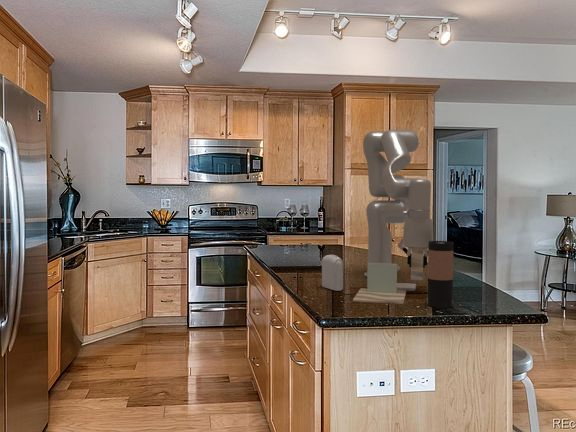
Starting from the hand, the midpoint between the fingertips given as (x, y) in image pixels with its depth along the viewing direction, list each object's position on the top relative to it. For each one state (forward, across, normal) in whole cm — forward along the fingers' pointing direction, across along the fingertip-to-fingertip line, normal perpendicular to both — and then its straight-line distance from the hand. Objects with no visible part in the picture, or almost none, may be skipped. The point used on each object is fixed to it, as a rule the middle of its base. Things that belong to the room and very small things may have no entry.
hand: (417, 266), depth 187 cm
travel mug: (+9, +8, -19) cm, 22 cm away
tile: (+4, -12, -5) cm, 13 cm away
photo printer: (+10, -30, 0) cm, 32 cm away
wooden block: (+4, 0, 0) cm, 4 cm away
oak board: (+9, -12, -10) cm, 18 cm away
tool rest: (+10, -6, +9) cm, 14 cm away
